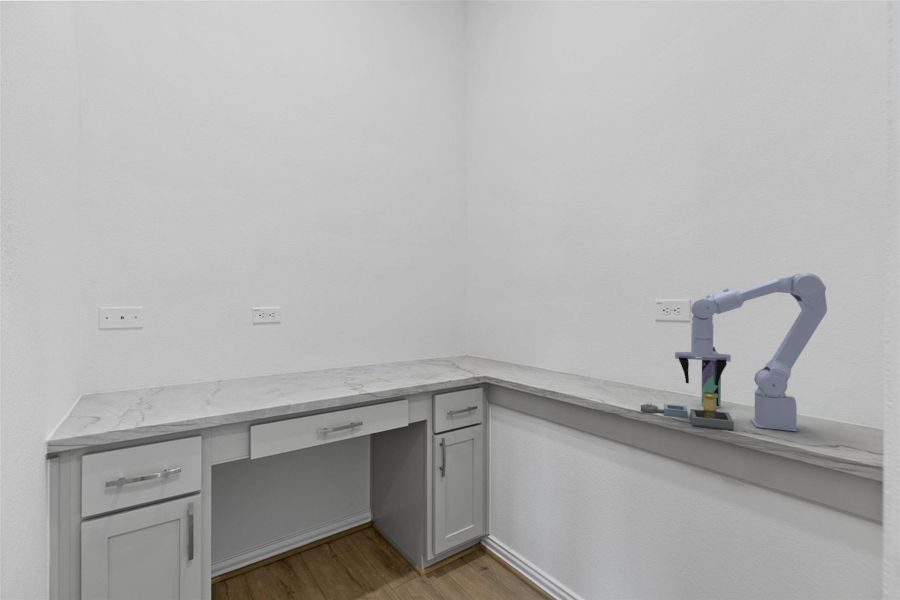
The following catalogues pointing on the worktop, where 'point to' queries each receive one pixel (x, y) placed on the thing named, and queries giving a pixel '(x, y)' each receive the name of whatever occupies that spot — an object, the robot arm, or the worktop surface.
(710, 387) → the spray can
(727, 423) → the tray
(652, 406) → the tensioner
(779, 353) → the robot arm
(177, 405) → the worktop surface
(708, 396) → the pin
